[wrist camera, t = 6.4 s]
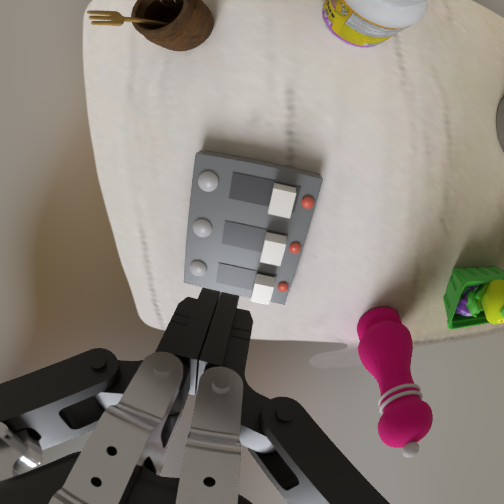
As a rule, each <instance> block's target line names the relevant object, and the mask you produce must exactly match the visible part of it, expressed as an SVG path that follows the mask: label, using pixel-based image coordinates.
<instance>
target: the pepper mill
mask: <svg viewBox="0 0 504 504" xmlns="http://www.w3.org/2000/svg"><path fill="white" fill-rule="evenodd" d="M357 332H358V336H359V340H360V343H359V346H358V353H359V356H360V359H361V362H362V363H363V365H364V366H365V368H366V369H367V370H368V371H369V372H370V373H371V374H372V375H373V376H374V378H375V379H376V380H377V382H378V384H379V387H380V392H381V398H380V399H379V401H378V405H379V407H380V408H379V411H380V413H381V414H382V416H381V418H380V420H379V423H378V433H379V436H380V438H381V440H382V441H383V442H384V443H385V444H386V445H388V446H390V447H395V448H400V447H403V449H402V453H403V455H404V456H405V457H413V456H415V455H416V454H417V452H418V451H419V445H418V443H417V442H418V441H419V440H421V439H422V438H423V437H424V436H425V435H426V434H427V433H428V432H429V430H430V428H431V425H432V419H433V418H432V410H431V408H430V406H429V405H428V404H427V403H426V402H424V401H422V393H421V392H420V387H419V386H418V385H416V384H414V382H413V380H412V376H411V372H410V364H411V357H412V349H413V347H412V338H411V334H410V332H409V330H408V329H407V327H405V326H404V325H403V324H402V322H401V319H400V317H399V315H398V313H397V311H396V310H394V309H393V308H390V307H377V308H375V309H372V310H370V311H368V312H367V313H365V314H364V315H363V316H362V317H361V319H360V320H359V322H358V325H357Z"/></svg>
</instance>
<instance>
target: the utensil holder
mask: <svg viewBox="0 0 504 504" xmlns="http://www.w3.org/2000/svg"><path fill="white" fill-rule="evenodd" d="M87 13H88V14H98V15H109V16H89V19H97V20H111V21H92V22H91V24H92V25H112V26H121V25H122V24H123V23H124V21H127V22H132V24H133V26H134V27H135V29H136V30H137V31H139V32H140V33H141V34H143V35H144V36H145V37H146V38H147V39H148V40H149V41H151V42H153V43H155V44H157V45H159V46H162V47H164V48H167V49H170V50H173V51H186V50H190V49H193V48H195V47H197V46H199V45H200V44H202V43H203V42H204V41H205V40H206V39H207V38H208V37H209V35H210V34H211V31H212V29H213V23H214V21H213V16H212V13H211V12H210V10H209V9H208V7H207V6H206V5H205V4H204V2H203V1H202V0H137V2H136V3H135V5H134V7H133V10H132V13H131V17H124V16H122V15H121V14H120V13H119V12H116V11H87Z"/></svg>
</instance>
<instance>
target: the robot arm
mask: <svg viewBox="0 0 504 504" xmlns="http://www.w3.org/2000/svg"><path fill="white" fill-rule="evenodd" d="M496 123H497V133H498V138H499V142H500V145H501V147H502V149H503V152H504V97H503V99H502V100H501V102H500V104H499V107H498V111H497V122H496ZM220 294H221V295H220ZM238 300H239V296H238V295H233V294H229V293H225V292H222V293H221V292H220V291H215V290H211V289H207V288H202V290H201V293H200V295H199V297H198V299H195V298H191V297H187V298H185V299H184V300H183V301H181V302H180V303H179V304H178V306H177V308H176V310H175V312H174V315H173V316H172V318H171V321H170V322H169V324H168V327H167V329H166V331H165V333H164V335H163V337H162V339H161V341H160V343H159V345H158V348H157V350H156V351H155V352H154V353H152V354H150V355H148V356H147V357H146V358H145V359H144V360H141V361H120V360H117V358H116V356H115V355H114V354H113V353H112V352H110V351H109V350H106V349H102V348H95V349H91V350H89V351H86V352H84V353H81V354H79V355H76V356H74V357H71V358H69V359H66V360H63V361H61V362H58V363H56V364H53V365H50V366H48V367H45V368H42V369H40V370H37V371H35V372H32V373H29V374H26V375H24V376H21V377H18V378H16V379H13V380H10V381H7V382H4V383H2V384H0V504H252V503H251V502H250V501H249V500H247V499H246V498H244V497H243V496H241V495H239V494H238V490H239V476H240V462H241V444H242V445H244V446H246V447H247V448H248V450H249V452H250V453H251V455H252V456H253V457H254V459H255V460H256V462H257V463H258V464H259V465H260V467H261V468H262V470H263V471H264V473H265V474H266V475H267V477H268V478H269V479H270V481H271V482H272V483H273V485H274V486H275V487H276V488H277V490H278V491H279V492H280V493H281V495H282V496H283V497H284V498H285V500H286V501H287V502H288V503H289V504H390V503H389V502H388V501H387V500H386V499H385V498H384V497H383V496H381V494H380V493H379V492H378V491H377V490H376V489H375V488H374V487H373V486H372V485H371V484H370V483H369V482H368V481H367V480H366V479H365V478H364V477H363V476H362V474H361V473H360V472H359V471H358V470H357V469H356V468H355V467H354V466H353V465H352V464H351V462H350V461H349V460H348V459H347V458H346V457H345V456H344V455H343V454H342V452H341V451H340V450H339V449H338V448H337V447H336V446H335V445H334V443H333V442H332V441H331V440H330V439H329V438H328V436H327V435H326V434H325V433H324V432H323V431H322V429H321V428H320V427H319V426H318V425H317V424H316V423H315V421H314V420H313V419H312V418H311V417H310V415H309V414H308V413H307V412H306V410H305V409H304V408H303V407H302V406H301V405H300V404H299V403H298V402H297V401H295V400H294V399H291V398H288V397H276V398H273V399H269V398H267V397H265V396H263V395H260V394H259V393H256V392H255V391H254V390H253V389H252V388H251V387H250V386H249V385H248V384H247V382H246V379H245V373H244V372H245V366H246V360H247V354H248V348H249V342H250V336H251V330H252V324H253V320H252V317H251V314H250V311H247V310H242V309H238V308H237V305H238ZM196 390H197V395H196V400H195V405H194V410H193V416H192V421H191V426H190V431H189V434H188V437H187V441H186V446H185V452H184V458H183V463H182V469H181V474H180V478H169V477H161V476H160V473H161V470H162V468H163V466H164V462H165V458H166V453H167V449H168V447H169V444H170V442H171V439H172V437H173V435H174V432H175V430H176V427H177V425H178V422H179V420H180V418H181V415H182V413H183V410H184V406H185V403H186V400H187V396H188V394H192V395H195V393H196ZM91 430H93V432H92V433H91V435H90V437H89V439H88V441H87V443H86V444H85V446H84V448H83V450H82V451H80V452H76V453H72V454H69V455H67V456H65V457H63V458H60V459H58V460H56V461H53V462H51V463H48V464H46V465H43V466H41V467H38V468H36V469H33V470H31V469H32V468H33V467H35V466H36V465H38V464H40V463H41V462H42V450H44V449H47V448H49V447H52V446H55V445H57V444H60V443H62V442H65V441H67V440H70V439H72V438H75V437H77V436H80V435H82V434H84V433H87V432H89V431H91ZM30 470H31V471H30Z"/></svg>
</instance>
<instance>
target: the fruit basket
mask: <svg viewBox="0 0 504 504" xmlns="http://www.w3.org/2000/svg"><path fill="white" fill-rule="evenodd" d="M443 299H444V304H445V308H446V313H447V318H448V320H447V323H448V328H449V329H457V328H464V327H469V326H475V325H480V324H485V323H491V324H500V323H504V271H503V270H501V269H499V268H497V267H495V266H492V267H488V268H486V267H478V268H465V269H462V268H454V269H453V271H452V276H451V278H450V280H449V283H448V286H447V289H446V294H445V296H444V298H443Z"/></svg>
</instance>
